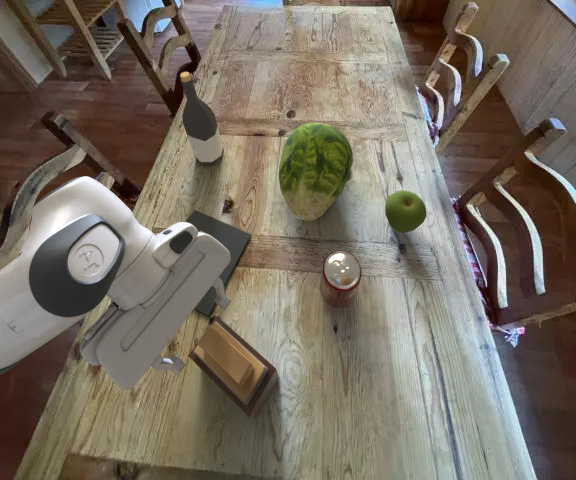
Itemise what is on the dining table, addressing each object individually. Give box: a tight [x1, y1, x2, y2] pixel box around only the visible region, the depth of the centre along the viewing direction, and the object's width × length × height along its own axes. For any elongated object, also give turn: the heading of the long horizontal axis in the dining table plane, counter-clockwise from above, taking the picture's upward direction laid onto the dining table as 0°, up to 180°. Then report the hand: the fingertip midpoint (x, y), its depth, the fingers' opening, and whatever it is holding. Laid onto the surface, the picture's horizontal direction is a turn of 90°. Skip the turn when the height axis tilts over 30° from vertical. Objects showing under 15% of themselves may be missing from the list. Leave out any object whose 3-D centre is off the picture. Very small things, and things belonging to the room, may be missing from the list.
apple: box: [384, 189, 427, 234], centre depth 77 cm, size 9×8×12 cm
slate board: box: [185, 209, 252, 318], centre depth 76 cm, size 18×16×1 cm
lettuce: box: [278, 122, 354, 222], centre depth 83 cm, size 18×23×19 cm
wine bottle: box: [179, 71, 224, 166], centre depth 87 cm, size 8×8×30 cm
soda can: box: [319, 249, 363, 309], centre depth 67 cm, size 7×7×12 cm
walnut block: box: [187, 315, 280, 422], centre depth 58 cm, size 7×13×11 cm, turn 55°
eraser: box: [193, 321, 268, 406], centre depth 52 cm, size 5×11×8 cm, turn 55°
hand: (204, 335), depth 50 cm, fingers open, 8 cm apart
